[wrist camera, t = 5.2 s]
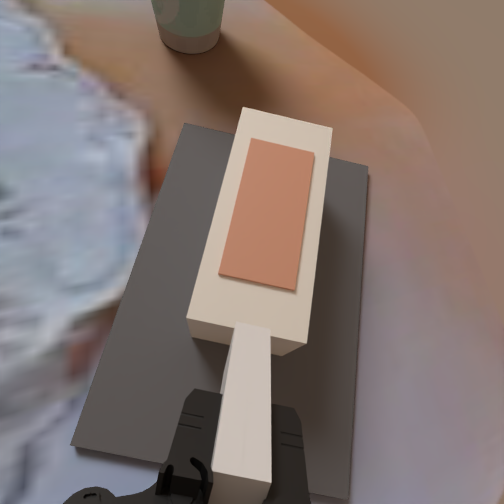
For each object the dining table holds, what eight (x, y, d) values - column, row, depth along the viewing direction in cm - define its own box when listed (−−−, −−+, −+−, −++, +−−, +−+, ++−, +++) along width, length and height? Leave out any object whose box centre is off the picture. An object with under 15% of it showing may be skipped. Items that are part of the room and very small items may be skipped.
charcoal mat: (344, 497, 20) (348, 500, 19) (73, 443, 19) (70, 445, 19) (365, 170, 30) (368, 166, 29) (184, 127, 29) (184, 122, 28)
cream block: (307, 343, 16) (333, 126, 22) (185, 316, 16) (243, 104, 22) (281, 356, 22) (307, 180, 28) (191, 336, 22) (235, 164, 27)
